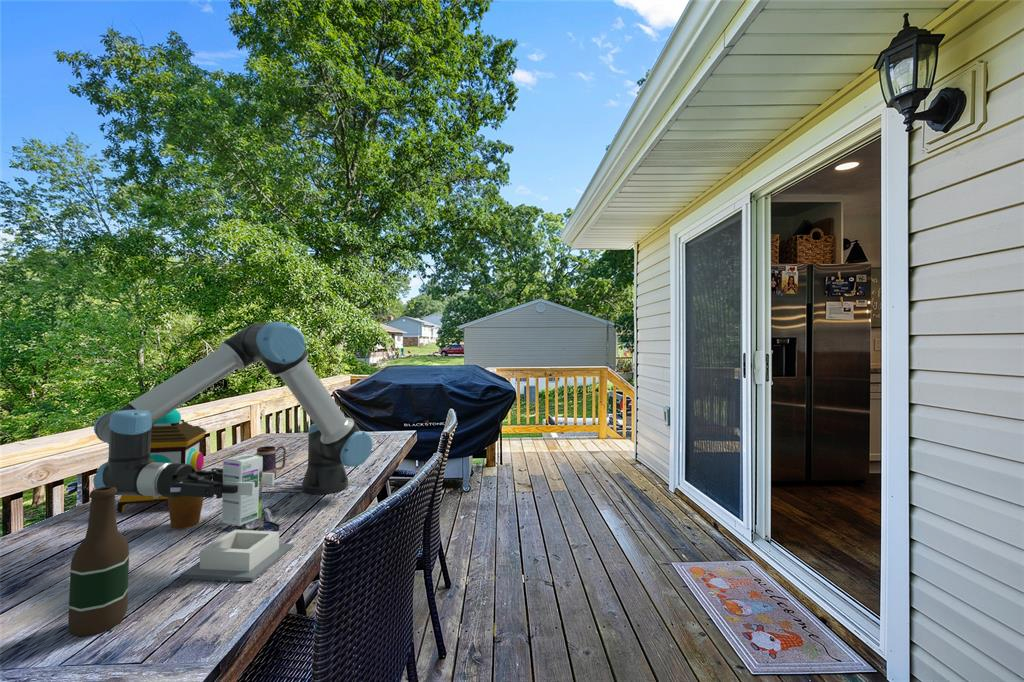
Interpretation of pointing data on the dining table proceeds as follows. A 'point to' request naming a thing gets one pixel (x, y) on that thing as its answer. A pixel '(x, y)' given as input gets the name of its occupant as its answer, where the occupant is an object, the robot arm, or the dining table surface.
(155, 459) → the decorative lantern
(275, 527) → the snack package
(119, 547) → the beer bottle
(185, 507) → the disposable coffee cup
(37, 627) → the dining table surface
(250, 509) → the syrup box
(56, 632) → the dining table surface
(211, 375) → the robot arm
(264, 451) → the mug
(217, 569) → the socket holder
